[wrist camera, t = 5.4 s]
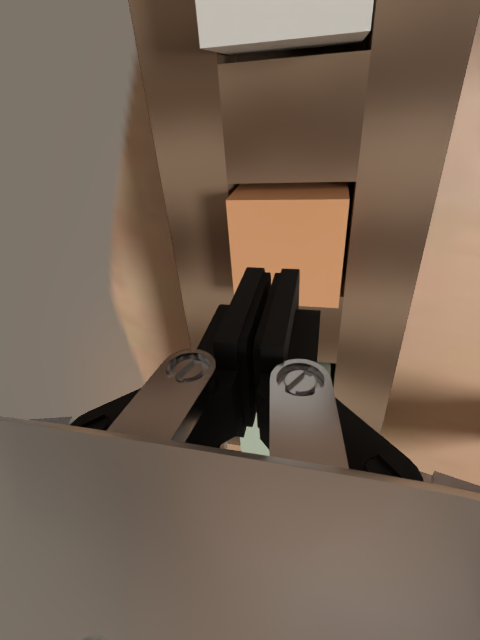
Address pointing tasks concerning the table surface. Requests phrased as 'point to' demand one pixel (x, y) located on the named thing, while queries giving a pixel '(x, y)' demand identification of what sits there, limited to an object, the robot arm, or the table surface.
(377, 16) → the console
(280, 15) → the grey button
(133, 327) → the table surface
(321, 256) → the tan block
